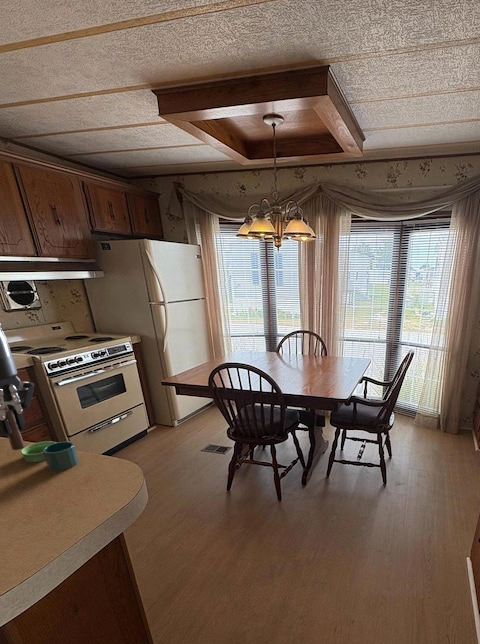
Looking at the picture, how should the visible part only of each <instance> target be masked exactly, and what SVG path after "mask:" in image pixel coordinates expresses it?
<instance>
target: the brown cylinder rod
mask: <svg viewBox="0 0 480 644" xmlns="http://www.w3.org/2000/svg"><path fill="white" fill-rule="evenodd" d="M4 412H5V417H6V418H5V419H7V420H8V423H9V426H10V429H11V431H12V434H11V435H8V436H7V438H8V441H9V444H10V447H11V450H12V451H19V450H22V449H23V448H25V447H26V446H25V445H26V444H25V442H24V439H23V435H22V433H21V430H19V427H18V424H17V421H16V418H15V415H14V412H13V410H12V409H7V408H6V409H4Z"/></svg>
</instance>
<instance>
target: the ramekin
mask: <svg viewBox="0 0 480 644" xmlns="http://www.w3.org/2000/svg"><path fill="white" fill-rule="evenodd" d="M54 443H57V442H56V441H52V440H48V441H47V440H46V441H45V440H44V441H38V442H35V443H31V444H29V445H26V446H25V447H24V448H22V449H20V454H21V455H22V456H23V458H24V460H25V461H26V462H28V463H38V462H43V461H46V460H45V457H44V454H43V449H44V448H45V447H46V446H48V445H51V444H54Z"/></svg>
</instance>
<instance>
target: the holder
mask: <svg viewBox="0 0 480 644" xmlns="http://www.w3.org/2000/svg"><path fill="white" fill-rule="evenodd" d="M42 452H43V454H44V457H45V460H44V461H45V463H46V466H47V469H48V470H49V471H51V472H61V471H65V470H70V469H72V468H74V467H76V466H77V465H78V464H79V461H80V460H79V456H78V454H77V450H76V446H75V443H74V442H73V441H58V442H56V443H54V444H51V445H48V446H46V447H45V448H44V449H43V451H42Z"/></svg>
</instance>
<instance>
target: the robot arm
mask: <svg viewBox="0 0 480 644" xmlns="http://www.w3.org/2000/svg"><path fill="white" fill-rule="evenodd" d="M17 375H18V369H17V367H16V363H15V360H14V356H13V353H12V351H11V347H10V344H9V341H8V339H7V337H6V334H5V333H4V331H3V327H2V325H1V323H0V435H2V436H7V437H8V435H11V434H12V431H11V429H10V426H9V423H8V420H7V419H5V418H6V417H5V412H4V410H7V409H12V410H13V412H14V415H15V418H16V421H17V424H18V427H19V430H20V431H23V430H25V426H26V422H25V419H24V415H23V412H24V410H26V409H30V407H31V403H32V399H33V393H34V389H35V383H33V382H29V381H21V379H20V378H19V377H18V376H17Z"/></svg>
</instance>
